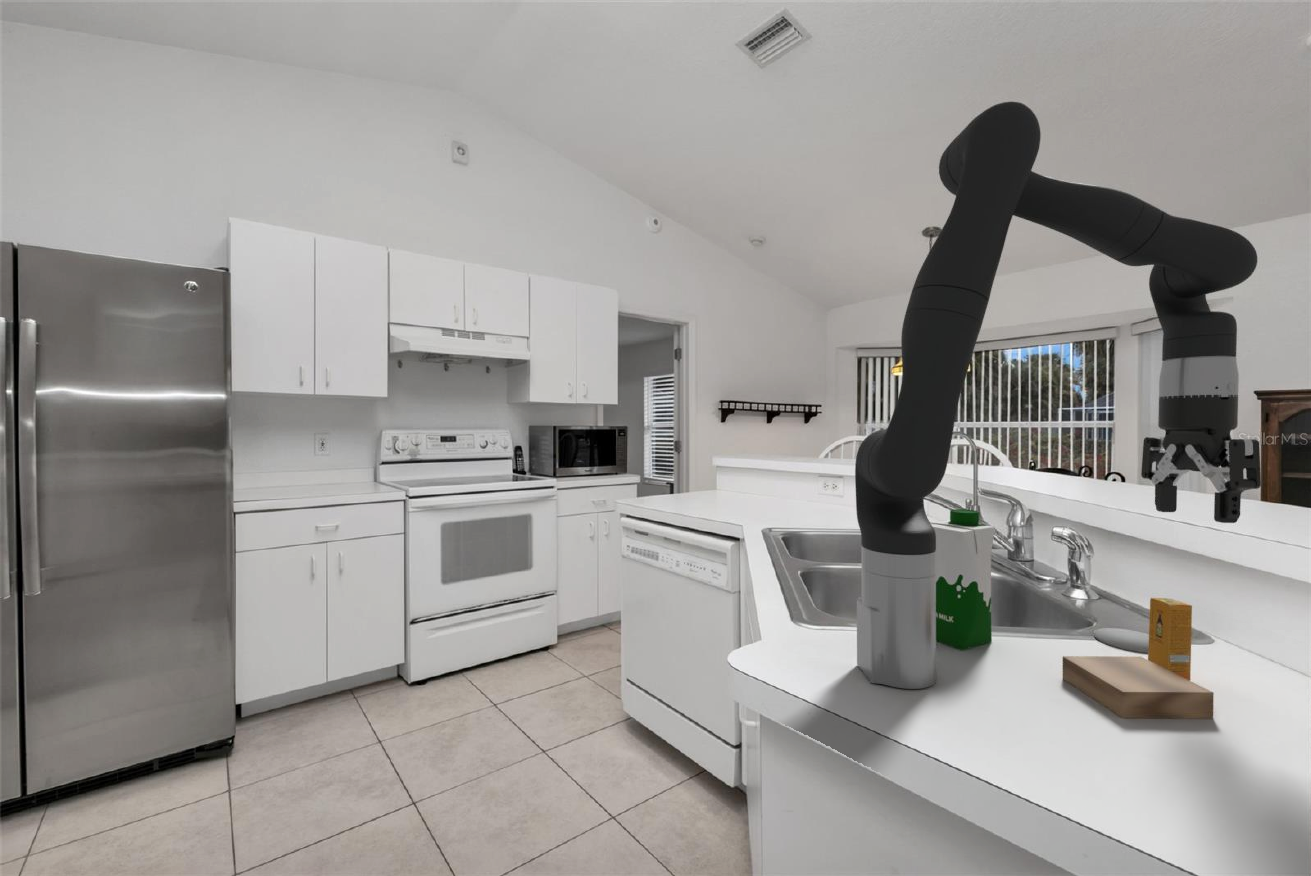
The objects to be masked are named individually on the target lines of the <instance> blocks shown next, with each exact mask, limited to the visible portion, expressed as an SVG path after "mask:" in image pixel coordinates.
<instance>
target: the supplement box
mask: <svg viewBox="0 0 1311 876" xmlns="http://www.w3.org/2000/svg"><path fill="white" fill-rule="evenodd" d="M1192 617H1193V605H1192V604H1189V603H1185V602H1183V601H1180V600H1175V599H1174V598H1173V599H1172V598H1166V597H1165V598H1164V597H1150V603H1149V627H1148V629H1149V630H1148V634H1149V647H1148V653H1147V660H1149V661H1151V662H1153V663H1155V664H1157V665H1159V666H1161V667H1163V668H1165V669H1167V670H1169V671H1171V672H1173V673H1175V674H1177V675H1179V676H1181V677H1183V678H1185V679H1187V680H1189V681H1191V670H1192V669H1191V667H1192V666H1191V663H1192V662H1191V661H1192V623H1193V619H1192Z"/></svg>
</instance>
